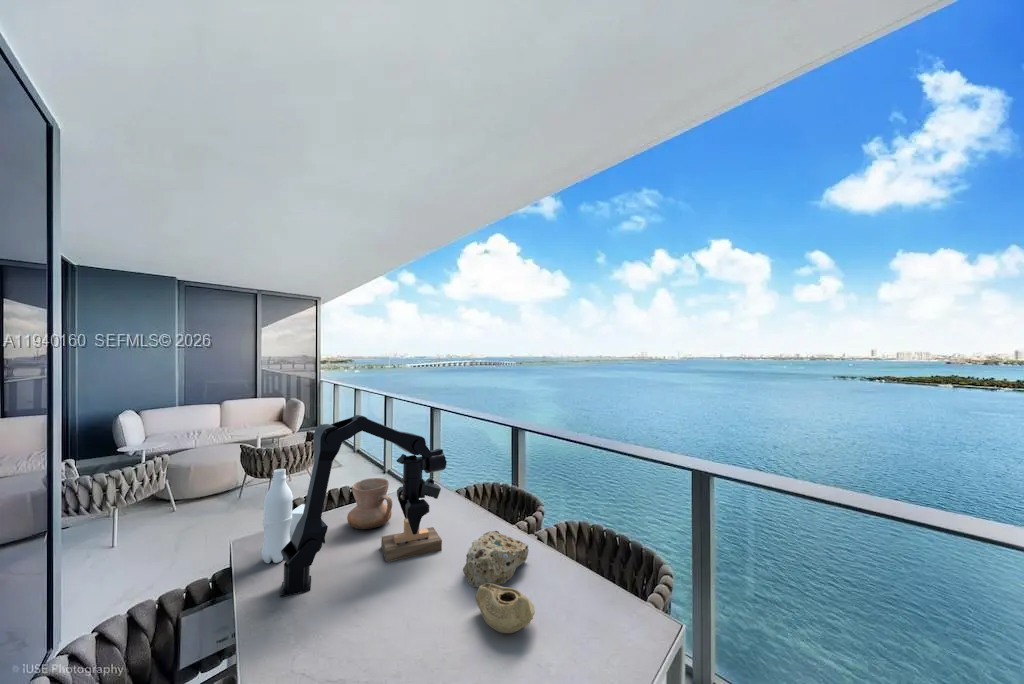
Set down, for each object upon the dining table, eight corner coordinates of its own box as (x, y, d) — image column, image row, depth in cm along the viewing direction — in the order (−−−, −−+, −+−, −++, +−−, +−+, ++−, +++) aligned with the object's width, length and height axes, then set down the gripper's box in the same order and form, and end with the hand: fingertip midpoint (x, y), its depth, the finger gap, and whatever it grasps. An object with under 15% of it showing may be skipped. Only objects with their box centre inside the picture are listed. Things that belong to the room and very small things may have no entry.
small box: (303, 549, 115) (304, 513, 115) (284, 549, 115) (286, 513, 115) (317, 537, 123) (318, 503, 123) (300, 537, 123) (301, 503, 123)
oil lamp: (487, 598, 92) (488, 564, 92) (544, 620, 84) (544, 582, 84) (459, 625, 82) (459, 587, 83) (520, 652, 75) (520, 610, 75)
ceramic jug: (335, 526, 131) (336, 484, 131) (368, 511, 143) (370, 473, 144) (372, 539, 122) (374, 494, 123) (404, 522, 135) (406, 481, 135)
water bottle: (276, 567, 105) (280, 474, 106) (254, 564, 106) (258, 472, 107) (296, 554, 112) (299, 467, 113) (275, 551, 113) (279, 466, 114)
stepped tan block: (428, 547, 117) (429, 518, 117) (394, 554, 112) (395, 524, 113) (426, 542, 119) (426, 515, 120) (393, 549, 115) (394, 520, 115)
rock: (485, 551, 116) (494, 519, 117) (528, 573, 110) (537, 539, 111) (449, 578, 98) (460, 539, 98) (498, 607, 92) (509, 565, 92)
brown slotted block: (441, 550, 115) (441, 539, 115) (386, 561, 108) (386, 551, 108) (433, 536, 124) (433, 526, 124) (381, 546, 117) (381, 536, 117)
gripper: (447, 481, 112) (446, 535, 111) (431, 465, 129) (430, 512, 128) (408, 486, 107) (407, 543, 106) (397, 469, 124) (395, 518, 123)
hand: (411, 528), depth 116 cm, fingers open, 9 cm apart
